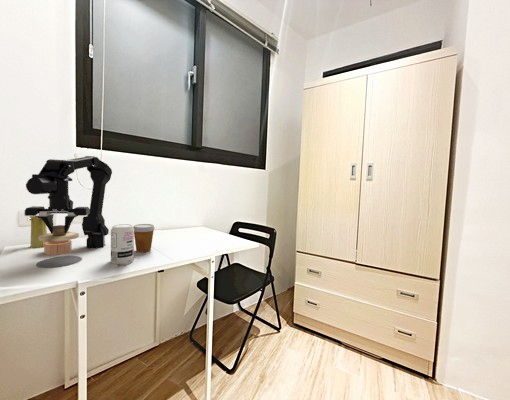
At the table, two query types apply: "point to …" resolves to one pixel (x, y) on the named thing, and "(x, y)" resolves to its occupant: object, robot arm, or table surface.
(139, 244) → the disposable coffee cup
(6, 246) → the table surface
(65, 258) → the mat
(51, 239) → the lid
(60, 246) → the bowl
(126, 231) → the supplement can
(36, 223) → the vase
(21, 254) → the table surface
